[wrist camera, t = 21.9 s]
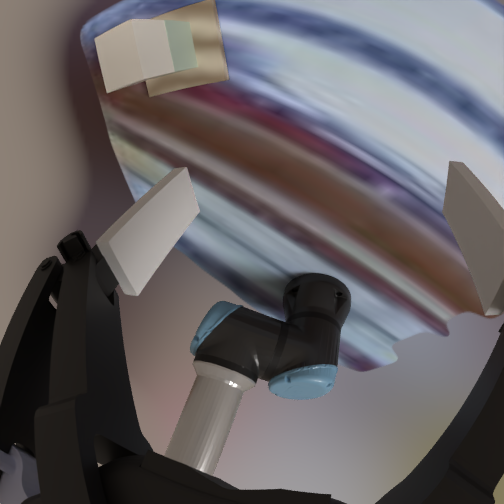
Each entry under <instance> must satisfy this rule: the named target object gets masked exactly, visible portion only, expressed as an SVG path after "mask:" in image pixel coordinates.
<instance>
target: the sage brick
mask: <svg viewBox="0 0 504 504" xmlns="http://www.w3.org/2000/svg"><path fill="white" fill-rule="evenodd" d="M164 22H165V27H166V32H167V37H168V42H169V47H170V52H171V57H172V61H173V66H174V70H175V72H173V73H176V72H180V71H184V70H188V69H192V68H197V67H198V65H197V59H196V54H195V49H194V44H193V38H192V33H191V28H190V22H184V21H174V20H164ZM169 74H172V73H169ZM169 74H166V75H169ZM162 76H165V75H162ZM159 77H161V76H159ZM156 78H157V77H156Z"/></svg>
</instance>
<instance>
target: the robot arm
mask: <svg viewBox="0 0 504 504" xmlns="http://www.w3.org/2000/svg"><path fill="white" fill-rule="evenodd" d="M199 212H200V210H199V207H198V203H197V200H196V197H195V194H194V190H193V187H192V184H191V180H190V177H189V173H188V170H187V167H183V168H175V169H174V170H172V171H171V172H170V173H169V174H168V175H166V176H165V177H164V178H163V179H162V180H161V181H159V182H158V183H157V184H156V185H155V186H154V187H153V188H151V189H150V190H149V191H148V192H147V193H146V194H145V195H144V196H142V197H141V198H140V199H139V200H138V201H137V202H136V203H135V204H134V205H133V206H132V207H131V208H130V209H128V210H127V211H126V212H125V213H124V214H123V215H122V216H121V217H120V218H119V219H118V220H117V221H116V222H115V223H114V224H113V225H112V226H111V227H110V228H109V229H108V230H107V231H106V232H105V233H104V234H103V235H102V236H101V237H100V238H99V239H98V240H97V241H96V245H95V246H94V247H93V248H92V249H91V247H90V245H89V243H88V242H87V240H86V238H85V236H84V234H83V232H82V231H75V232H73V233H70V234H69V235H67V236H66V237H64V238H63V239H62V240H61V241H60V242H59V243H58V245H57V248H58V249H59V251H60V253H61V255H62V256H63V258H64V260H65V261H66V263H65V264H61V263H60V261H59V259H58V258H57V257H56V256H52V257H49V258H46V259H45V260H43V261H42V263H41V264H40V265H39V267H38V268H37V270H36V271H35V273H34V275H33V277H32V279H31V280H30V282H29V284H28V286H27V288H26V290H25V292H24V294H23V296H22V298H21V300H20V302H19V304H18V306H17V308H16V310H15V312H14V314H13V316H12V319H11V321H10V323H9V325H8V328H7V330H6V332H5V335H4V337H3V340H2V342H1V345H0V503H1V504H346V503H344V502H341V501H339V500H335V499H333V498H331V494H318V493H307V492H298V491H291V490H285V489H267V490H239V489H237V488H236V487H233V486H232V485H230V484H228V483H226V482H224V481H223V480H221V479H219V478H216V477H214V476H213V473H214V471H215V468H216V466H217V463H218V461H219V458H220V455H221V453H222V450H223V447H224V445H225V442H226V440H227V437H228V434H229V432H230V429H231V426H232V423H233V421H234V418H235V415H236V413H237V410H238V407H239V404H240V401H241V399H242V395H243V393H244V392H245V391H247V390H249V389H251V388H253V387H255V385H256V382H257V379H258V378H260V379H262V380H265V381H268V382H269V383H268V386H269V390H270V391H271V392H272V393H274V394H275V395H277V396H279V397H283V398H288V399H298V400H303V399H313V398H318V397H321V396H323V395H325V394H327V393H328V392H329V391H331V389H332V388H333V386H334V381H335V377H336V373H337V371H338V368H337V365H338V356H339V345H340V334H341V328H342V326H343V324H344V322H345V320H346V318H347V316H348V313H349V311H350V307H351V294H350V292H349V290H348V288H347V287H346V286H345V285H344V284H343V283H342V282H341V281H339V280H338V279H336V278H333V277H331V276H328V275H323V274H307V275H302V276H299V277H297V278H295V279H294V280H292V281H291V282H290V283H289V284H288V285H287V287H286V289H285V292H284V296H283V307H284V313H285V320H286V322H283V321H280V320H277V319H275V318H272V317H269V316H266V315H264V314H261V313H258V312H256V311H253V310H250V309H248V308H245V307H243V306H242V305H236V304H232V303H229V302H226V301H220V302H217V303H216V304H215V305H214V306H213V307H212V308H211V309H210V310H209V311H208V313H207V314H206V316H205V317H204V319H203V320H202V322H201V324H200V326H199V327H198V329H197V331H196V335H195V336H194V339H193V340H192V343H191V346H190V352H191V353H192V354H193V355H194V356H195V359H194V361H193V366H194V368H195V371H196V373H197V377H196V379H195V382H194V384H193V386H192V389H191V391H190V394H189V397H188V399H187V401H186V404H185V406H184V409H183V411H182V414H181V416H180V418H179V421H178V424H177V426H176V428H175V431H174V433H173V436H172V438H171V441H170V443H169V446H168V448H167V450H166V453H165V455H164V456H163V455H160V454H157V453H155V452H153V449H152V448H151V446H150V444H149V443H148V441H147V440H146V439H145V437H144V436H143V434H142V432H141V430H140V426H139V422H138V418H137V414H136V410H135V406H134V401H133V396H132V391H131V386H130V381H129V375H128V369H127V364H126V357H125V350H124V344H123V336H122V327H121V318H120V308H119V297H118V294H117V292H116V290H115V288H116V287H117V285H118V284H119V285H120V286H121V288H122V290H123V291H124V293H125V294H129V295H134V296H138V295H139V294H140V292H141V291H142V290H143V288H144V287H145V285H146V284H147V282H148V281H149V279H150V278H151V277H152V275H153V274H154V272H155V271H156V270H157V268H158V267H159V265H160V264H161V263H162V261H163V260H164V258H165V257H166V256H167V254H168V253H169V252H170V250H171V249H172V248H173V246H174V245H175V243H176V242H177V241H178V239H179V238H180V237H181V235H182V234H183V233H184V231H185V230H186V229H187V228H188V226H189V225H190V224H191V222H192V221H193V220H194V218H195V217H196V216H197V215H198V213H199ZM442 212H443V214H444V216H445V218H446V220H447V222H448V224H449V226H450V228H451V230H452V232H453V234H454V236H455V239H456V241H457V243H458V245H459V247H460V249H461V252H462V254H463V256H464V259H465V261H466V263H467V266H468V268H469V271H470V273H471V276H472V279H473V281H474V284H475V287H476V289H477V292H478V295H479V298H480V301H481V304H482V307H483V310H484V313H485V315H498V314H501V313H502V312H503V310H504V210H503V208H502V207H501V206H500V204H499V203H498V202H497V201H496V199H495V198H494V197H493V196H492V194H491V193H490V192H489V191H488V190H487V189H486V187H485V186H484V185H483V184H482V183H481V182H480V180H479V179H478V178H477V177H476V176H475V175H474V174H473V173H472V172H471V171H470V169H469V168H468V167H467V166H466V165H465V164H464V163H463V162H454V161H449V170H448V178H447V186H446V193H445V199H444V206H443V211H442ZM50 295H51V296H52V297H53V299H54V300H55V302H56V303H57V309H55V308H54V307H53V305H52V304H51V303H50V301H49V296H50ZM499 332H500V333H501V334H500V336H499V338H498V340H497V343H496V345H495V347H494V349H493V352H492V353H491V356H490V358H489V360H488V362H487V364H486V366H485V368H484V369H483V371H482V373H481V375H480V377H479V379H478V381H477V382H476V384H475V386H474V388H473V389H472V391H471V393H470V395H469V396H468V398H467V399H466V401H465V403H464V404H463V406H462V407H461V409H460V410H459V412H458V413H457V415H456V416H455V418H454V419H453V421H452V422H451V423H450V425H449V426H448V428H447V429H446V430H445V432H444V433H443V435H442V436H441V437H440V438H439V440H438V441H437V442H436V444H435V445H434V446H433V448H432V449H431V450H430V451H429V452H428V454H427V455H426V456H425V457H424V458H423V459H422V461H421V462H420V463H419V464H418V465H417V466H416V468H415V469H414V470H413V471H412V472H411V473H410V474H409V475H408V476H407V477H406V478H405V479H404V480H403V481H402V482H400V483H399V484H398V485H396V486H395V487H394V488H393V489H391V490H390V491H389V492H388V493H387V494H385V495H384V496H383V497H382V498H381V499H380V500H379V501H378V502H376V503H375V504H494V503H495V500H494V497H493V492H494V489H495V487H496V485H497V484H498V482H499V480H500V479H501V477H502V475H503V474H504V324H503V325H502V327H501V328H500V330H499ZM14 443H16V445H15V444H14ZM97 462H98V463H100V464H102V466H100V467H98V464H97Z"/></svg>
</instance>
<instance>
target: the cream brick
mask: <svg viewBox="0 0 504 504" xmlns="http://www.w3.org/2000/svg"><path fill="white" fill-rule="evenodd" d="M95 44H96V48H97V53H98V58H99V62H100V67H101V71H102V75H103V79H104V83H105V87H106V91H107V93H109V92H112V91H115V90H118V89H121V88H124V87H127V86H131V85H134V84H137V83H141V82H144V81H147V80H150V79H153V78H156V77H159V76H162V75H166V74H169V73H173V72H175V70H174V66H173V61H172V57H171V52H170V47H169V42H168V37H167V32H166V27H165V22H164V20H149V19H130V20H128V21H126V22H124V23H122V24H120V25H118V26H116V27H114V28H113V29H111V30H109V31H107V32H105V33H103V34H102V35H100V36H98V37H96V38H95Z"/></svg>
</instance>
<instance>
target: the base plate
mask: <svg viewBox="0 0 504 504" xmlns="http://www.w3.org/2000/svg"><path fill="white" fill-rule="evenodd" d="M150 20H174V21H184V22H190V28H191V33H192V38H193V44H194V49H195V54H196V59H197V65H198V67H197V68H192V69H188V70H184V71H180V72H176V73H172V74H169V75H165V76H161V77H157V78H153V79H150V80H147V81H146V85H147V89H148V93H149V97H152V96H155V95H159V94H163V93H167V92H171V91H175V90H179V89H184V88H188V87H193V86H198V85H203V84H208V83H213V82H219V81H225V80H229V75H228V70H227V64H226V58H225V53H224V47H223V42H222V36H221V31H220V25H219V20H218V14H217V9H216V3H215V0H206V1H202V2H199V3H195V4H192V5H189V6H186V7H182V8H179V9H176V10H173V11H171V12H168V13H165V14H162V15H160V16H157V17H155V18H152V19H150Z"/></svg>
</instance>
